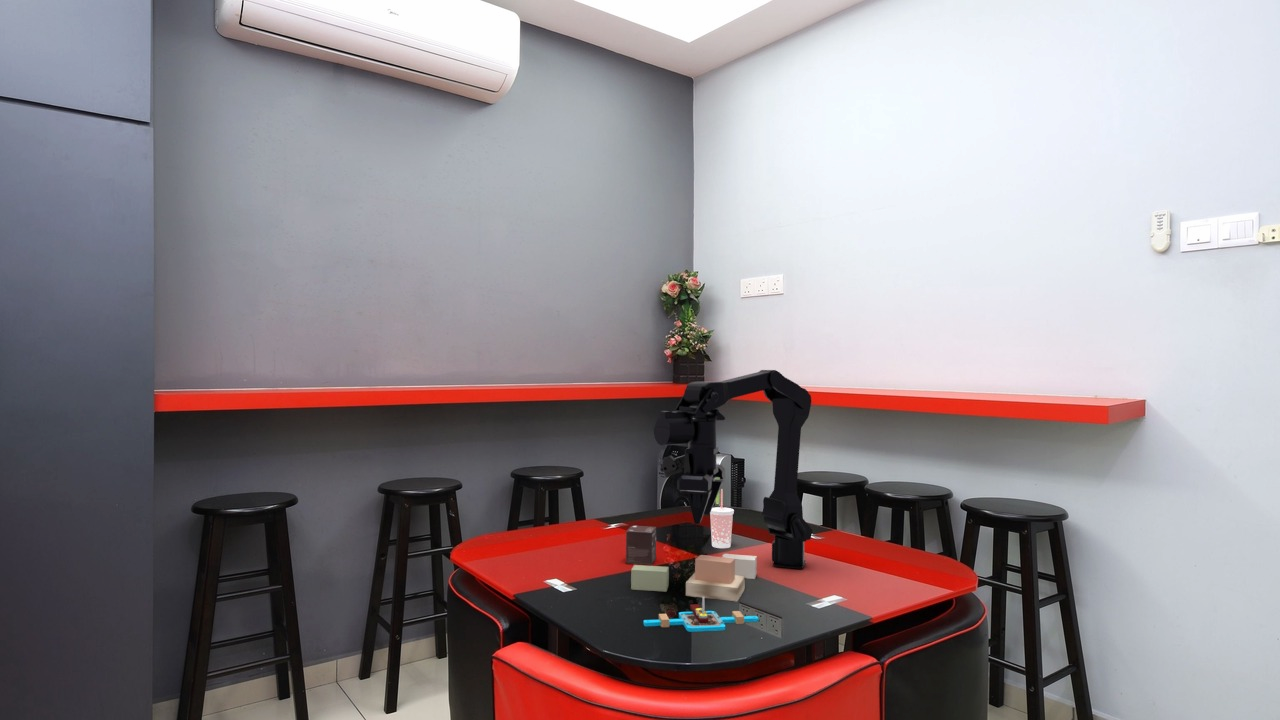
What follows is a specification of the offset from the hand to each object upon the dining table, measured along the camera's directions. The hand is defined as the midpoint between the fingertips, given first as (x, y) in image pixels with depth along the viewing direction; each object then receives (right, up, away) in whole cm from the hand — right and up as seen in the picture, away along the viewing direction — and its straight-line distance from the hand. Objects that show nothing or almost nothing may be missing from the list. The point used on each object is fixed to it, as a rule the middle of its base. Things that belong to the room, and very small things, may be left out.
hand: (702, 518), depth 145 cm
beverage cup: (+7, -14, +29) cm, 33 cm away
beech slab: (+2, -13, -7) cm, 15 cm away
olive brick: (-11, -13, -5) cm, 17 cm away
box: (-12, -13, +15) cm, 24 cm away
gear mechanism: (-2, -13, -23) cm, 27 cm away
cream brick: (+8, -13, +5) cm, 16 cm away
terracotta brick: (+2, -10, -7) cm, 13 cm away
